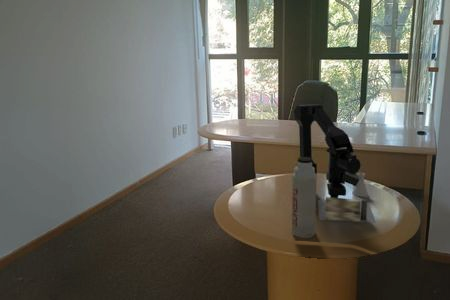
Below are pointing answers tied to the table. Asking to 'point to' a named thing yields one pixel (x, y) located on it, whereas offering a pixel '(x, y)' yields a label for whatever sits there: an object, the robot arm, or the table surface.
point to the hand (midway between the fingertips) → (334, 203)
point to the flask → (360, 187)
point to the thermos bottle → (304, 198)
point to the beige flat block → (342, 205)
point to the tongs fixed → (348, 214)
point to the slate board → (322, 217)
